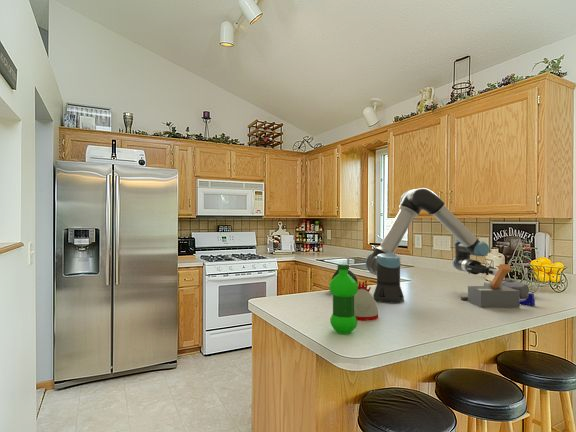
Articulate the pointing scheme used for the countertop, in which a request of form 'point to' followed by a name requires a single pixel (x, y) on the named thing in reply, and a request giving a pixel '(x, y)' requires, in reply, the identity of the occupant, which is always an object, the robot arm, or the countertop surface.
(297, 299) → the countertop surface
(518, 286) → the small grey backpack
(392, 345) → the countertop surface
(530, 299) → the cable clip
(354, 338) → the countertop surface
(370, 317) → the grey dome with crown
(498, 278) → the breaker lever
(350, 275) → the squash
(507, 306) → the block
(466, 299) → the cord bundle
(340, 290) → the plastic bottle
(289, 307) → the countertop surface
